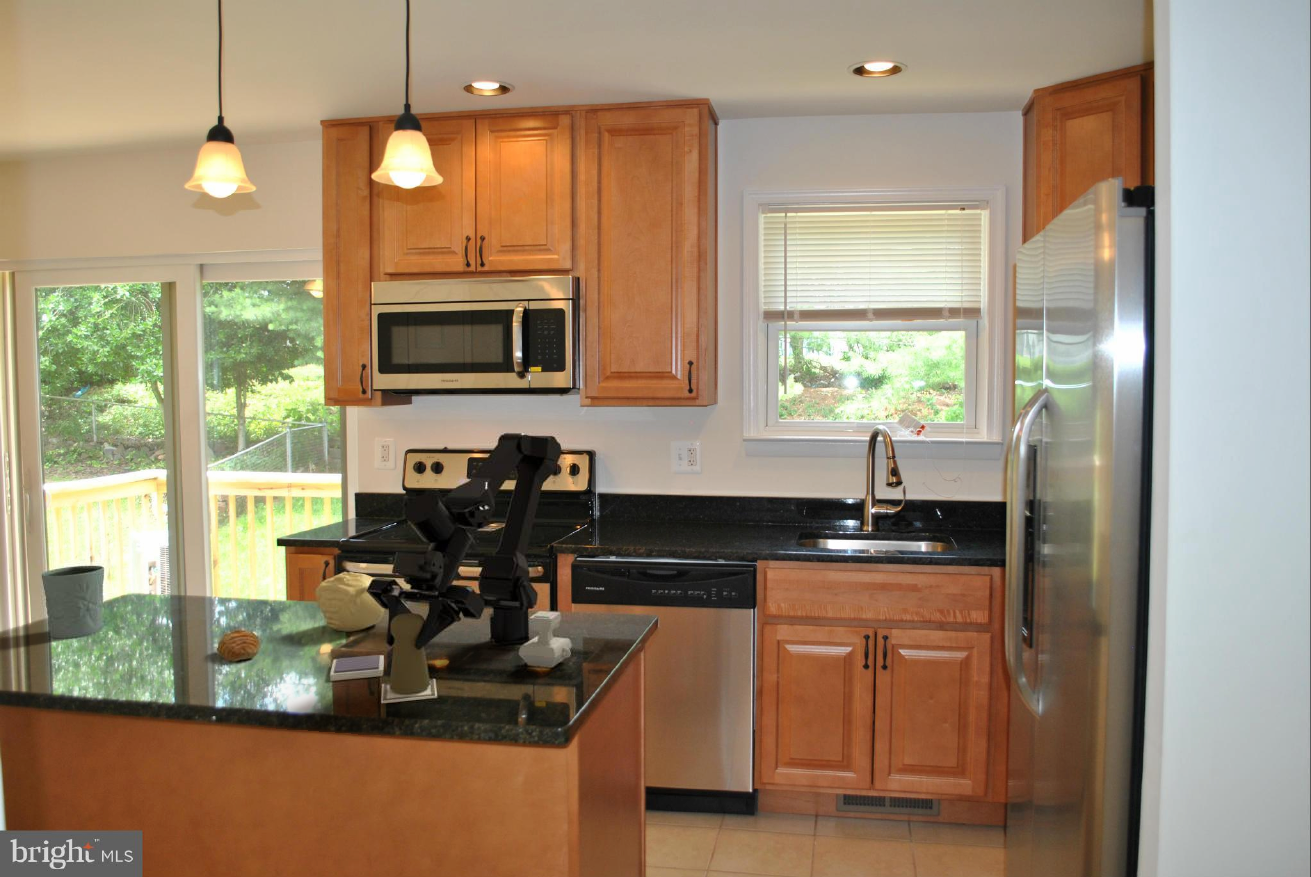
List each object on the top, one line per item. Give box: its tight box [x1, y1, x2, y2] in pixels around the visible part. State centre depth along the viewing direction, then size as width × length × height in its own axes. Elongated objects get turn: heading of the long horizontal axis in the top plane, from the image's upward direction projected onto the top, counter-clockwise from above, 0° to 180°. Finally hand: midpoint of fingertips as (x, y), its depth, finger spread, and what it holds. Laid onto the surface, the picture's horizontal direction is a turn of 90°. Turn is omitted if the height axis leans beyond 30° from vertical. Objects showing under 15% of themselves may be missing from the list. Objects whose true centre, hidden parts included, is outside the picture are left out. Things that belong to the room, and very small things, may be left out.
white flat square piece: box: [380, 678, 438, 704], centre depth 142 cm, size 8×8×1 cm
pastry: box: [216, 628, 261, 663], centre depth 162 cm, size 9×7×4 cm
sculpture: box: [315, 571, 386, 632], centre depth 179 cm, size 12×12×11 cm
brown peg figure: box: [389, 612, 430, 693], centre depth 142 cm, size 6×6×11 cm
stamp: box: [518, 610, 573, 669], centre depth 155 cm, size 9×7×8 cm
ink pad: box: [329, 654, 385, 682], centre depth 153 cm, size 8×8×1 cm
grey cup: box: [41, 565, 105, 640], centre depth 178 cm, size 10×10×12 cm
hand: (402, 646), depth 141 cm, fingers closed on brown peg figure, 5 cm apart
